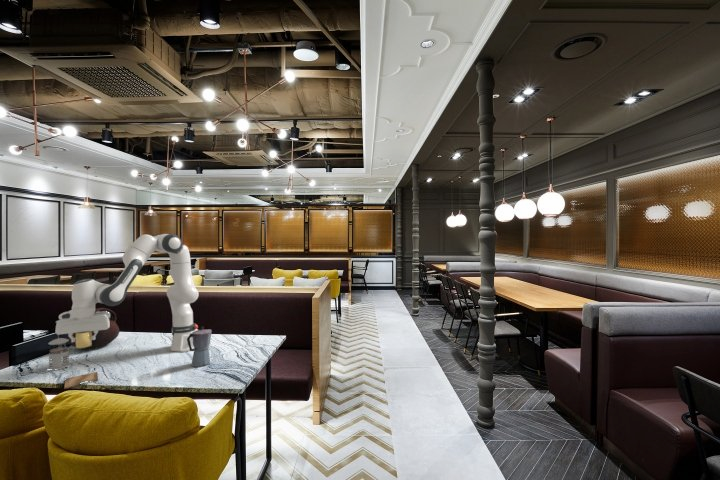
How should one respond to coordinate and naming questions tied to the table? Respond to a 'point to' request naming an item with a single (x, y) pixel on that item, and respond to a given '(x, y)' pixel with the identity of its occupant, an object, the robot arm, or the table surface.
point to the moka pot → (200, 346)
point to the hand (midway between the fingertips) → (83, 340)
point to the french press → (59, 354)
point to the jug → (102, 333)
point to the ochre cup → (83, 339)
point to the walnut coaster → (80, 379)
